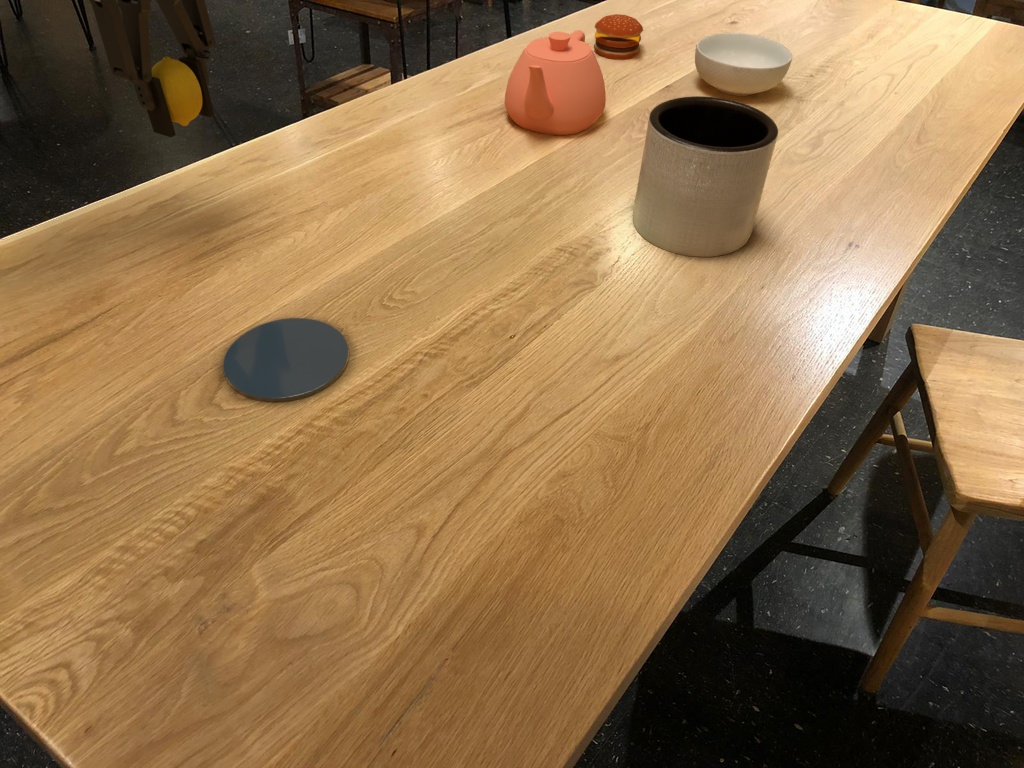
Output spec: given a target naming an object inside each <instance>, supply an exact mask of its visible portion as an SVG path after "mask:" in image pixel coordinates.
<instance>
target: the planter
mask: <svg viewBox="0 0 1024 768" xmlns="http://www.w3.org/2000/svg"><path fill="white" fill-rule="evenodd" d="M778 137H779V129H778V126H777V123H776V122H775V121H774V119H772V117H770V116H769V115H768V114H766V113H765V112H763V111H762V110H760V109H759V108H758V109H757V108H756V107H754V106H751V105H749V104H747V103H743V102H740V101H737V100H732V99H729V98H723V97H715V96H703V95H702V96H700V95H697V96H681V97H677V98H671V99H668V100H666V101H663V102H661V103H659V104H657V105H656V106H655V107H653V109H651V111H650V113H649V116H648V122H647V127H646V134H645V140H644V147H643V150H642V151H643V152H642V157H641V163H640V170H639V174H638V180H637V186H636V192H635V198H634V205H633V209H632V222H633V226H634V228H635V230H636V231H637V232H638V233H639V235H640V237H642V238H643V239H645V240H646V241H647V242H649V244H652V245H653V246H656V247H657V248H660V249H663V250H665V251H667V252H670V253H673V254H677V255H681V256H688V257H695V258H696V257H697V258H711V257H712V258H713V257H720V256H725V255H729V254H731V253H733V252H736V251H738V250H740V249H741V248H743V247H744V246H745V245H746V244H747V243H748V241H749V239H750V237H751V235H752V233H753V230H754V227H755V222H756V219H757V214H758V212H759V211H758V210H759V207H760V203H761V200H762V195H763V193H764V188H765V183H766V180H767V177H768V173H769V169H770V166H771V162H772V158H773V154H774V151H775V147H776V142H777V140H778Z"/></svg>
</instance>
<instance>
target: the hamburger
mask: <svg viewBox="0 0 1024 768" xmlns="http://www.w3.org/2000/svg"><path fill="white" fill-rule="evenodd" d="M594 29H595V30H596V31H595V33H594V39H595V42H594V44H593V51H594V53H596V54H597V55H598V56H601V57H602V58H603V57H604V58H607V59H610V60H611V59H612V60H627V59H632V58H634V57H637V56H638V55H639V53H640V42H641V41H642V36H641V34H642V32H644V27H643V25H642V24H641V23H640V22H639V20H638V19H637V18H635V17H633V16H630V15H627V14H619V13H618V14H617V13H615V14H610V15H609V14H607V15H605V16H603V17H602V18H600V19H598V21H596V23H594Z"/></svg>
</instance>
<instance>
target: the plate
mask: <svg viewBox="0 0 1024 768" xmlns="http://www.w3.org/2000/svg"><path fill="white" fill-rule="evenodd" d="M349 351H350V350H349V345H348V341H347V340H346V338H345V337H344V335H343V334H342V333H341V332H340V331H339V330H338V329H337V328H335V327H334V326H332V325H331V324H328V323H326V322H323V321H320V320H317V319H313V318H306V317H305V318H303V317H291V318H281V319H276V320H271V321H268V322H265V323H261V324H260V325H257V326H255V327H253V328H250V329H249V330H247V331H246V332H244V333H243V334H241V335H240V336H238V338H236V340H234V342H232V343H231V345H230V346H229V347H228V349H227V351H226V353H225V355H224V358H223V364H222V369H223V373H224V377H225V379H226V382H227V383H228V385H229V386H230V387H231V388H232V390H234V391H235V392H237V393H238V394H239V395H241V396H243V397H245V398H248V399H251V400H255V401H258V402H264V403H265V402H266V403H286V402H294V401H298V400H302V399H305V398H308V397H311V396H313V395H317V394H318V393H320V392H322V391H324V390H325V389H326V388H329V387H330V386H332V384H334V383H335V382H336V381H337V380H338V379H339V378H340V377H342V375H343V373H344V372H345V370H346V368H347V366H348V363H349V359H350V352H349Z"/></svg>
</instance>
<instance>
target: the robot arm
mask: <svg viewBox="0 0 1024 768" xmlns="http://www.w3.org/2000/svg"><path fill="white" fill-rule="evenodd" d="M152 1H153V0H89V3H90V4H91V6H92V10H93V14H94V17H95V20H96V24H97V27H98V31H99V34H100V37H101V41H102V44H103V46H104V51H105V53H106V58H107V61H108V63H109V64H108V65H109V68H110V72H111V74H112V76H113V77H115V78H118V79H122V80H125V81H128V82H132V84H133V87H134V90H135V93H136V96H137V99H138V103H139V105H140V107H141V108H142V109H144V110H146V112H147V115H148V118H149V121H150V124H151V128H152V131H153V133H156V134H158V135H161V136H165V137H169V138H173V137H174V136H177V134H176V131H175V130H176V129H175V127H174V124H173V123H174V122H172V120H171V117H170V113H169V110H168V106H167V103H166V99H165V96H164V92H163V89H162V86H161V82H160V79H158V78H155V77H152V68H153V67H152V55H151V42H150V41H151V40H150V27H149V15H150V13H151V11H152V6H151V2H152ZM154 1H156V3H157V5H158V7H159V8H160V10H161V12H162V15H163V16H164V18H165V20H166V22H167V24H168V26H169V28H170V30H171V32H172V34H173V36H174V38H175V40H176V41H177V43H178V45H179V47H180V49H181V51H182V53H183V54H184V56H181V57H180V56H179V57H178V61H180V62H182V63H184V64H185V65H187V66H188V67H189V68H190V69H191V70H192V72H193V73H194V75H195V76H196V78H197V80H198V82H199V85H200V88H201V92H202V108H201V110H200V112H199V114H198V115H200V116H204V117H207V118H213V117H214V116H215V112H214V107H213V103H212V98H211V95H210V92H209V87H208V85H209V84H210V75H209V71H208V68H207V63H206V61H207V60H210V58H211V54H212V53H211V51H210V50H209V49H213V48H214V47H215V46H216V39H215V34H214V30H213V26H212V24H211V18H210V16H209V12H208V8H207V4H206V0H154ZM185 55H186V56H185Z"/></svg>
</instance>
